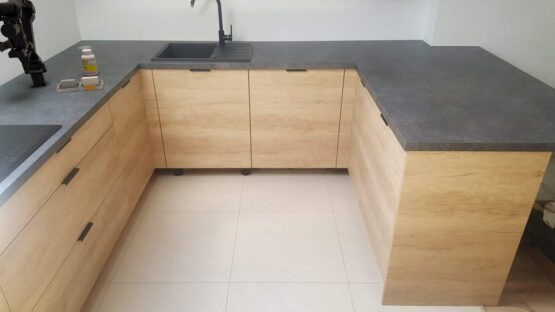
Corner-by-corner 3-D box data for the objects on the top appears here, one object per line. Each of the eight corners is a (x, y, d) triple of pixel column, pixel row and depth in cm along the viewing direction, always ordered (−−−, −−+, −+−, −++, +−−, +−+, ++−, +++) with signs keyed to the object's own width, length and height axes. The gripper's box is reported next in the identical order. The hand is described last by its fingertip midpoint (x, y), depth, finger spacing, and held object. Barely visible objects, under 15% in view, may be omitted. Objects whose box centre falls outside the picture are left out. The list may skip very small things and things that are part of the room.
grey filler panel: (63, 89, 195) (61, 80, 193) (77, 88, 197) (75, 78, 194) (62, 90, 193) (60, 81, 191) (76, 89, 194) (74, 80, 192)
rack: (59, 87, 197) (58, 82, 195) (103, 83, 202) (102, 79, 201) (57, 93, 190) (55, 88, 189) (102, 89, 195) (101, 84, 194)
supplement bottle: (83, 73, 216) (77, 49, 210) (95, 71, 220) (91, 47, 214) (87, 76, 212) (82, 52, 206) (100, 74, 216) (95, 50, 210)
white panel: (84, 87, 197) (82, 77, 195) (99, 86, 199) (97, 76, 197) (83, 88, 195) (81, 78, 193) (99, 87, 197) (97, 77, 195)
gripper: (0, 30, 181) (11, 64, 188) (-12, 39, 165) (0, 76, 172) (28, 28, 184) (38, 62, 191) (19, 37, 168) (29, 74, 175)
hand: (26, 68), depth 182 cm, fingers closed
